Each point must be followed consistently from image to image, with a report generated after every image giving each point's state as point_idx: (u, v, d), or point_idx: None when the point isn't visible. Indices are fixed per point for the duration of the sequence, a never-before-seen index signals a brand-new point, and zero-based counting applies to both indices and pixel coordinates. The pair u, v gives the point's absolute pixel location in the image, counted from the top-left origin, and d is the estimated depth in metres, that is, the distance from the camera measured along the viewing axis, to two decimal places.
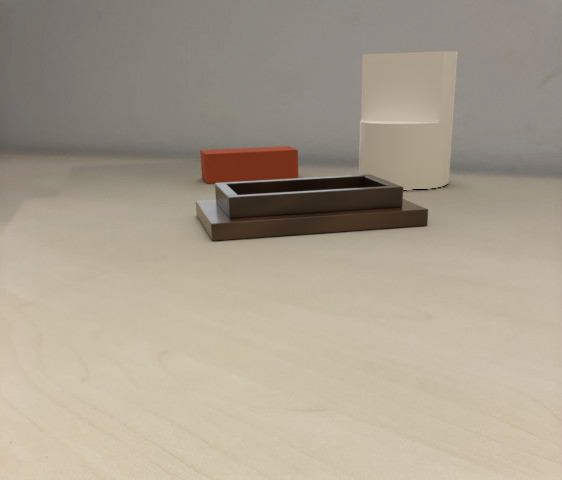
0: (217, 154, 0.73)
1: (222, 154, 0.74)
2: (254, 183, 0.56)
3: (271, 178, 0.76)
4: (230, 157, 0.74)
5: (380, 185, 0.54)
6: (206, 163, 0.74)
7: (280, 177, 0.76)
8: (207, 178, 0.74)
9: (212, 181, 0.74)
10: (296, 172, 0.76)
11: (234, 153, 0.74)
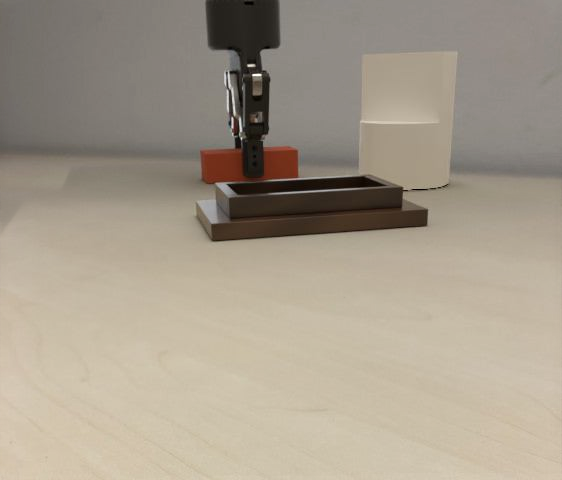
0: (217, 154, 0.73)
1: (222, 154, 0.74)
2: (254, 183, 0.56)
3: (271, 178, 0.76)
4: (230, 157, 0.74)
5: (380, 185, 0.54)
6: (206, 163, 0.74)
7: (280, 177, 0.76)
8: (207, 178, 0.74)
9: (212, 181, 0.74)
10: (296, 172, 0.76)
11: (234, 153, 0.74)
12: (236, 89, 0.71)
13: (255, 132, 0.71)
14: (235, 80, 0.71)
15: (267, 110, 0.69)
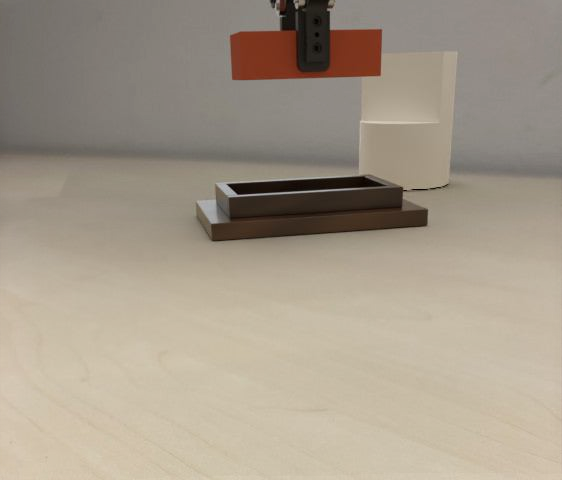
0: (259, 32, 0.47)
1: (267, 33, 0.47)
2: (254, 183, 0.56)
3: (340, 74, 0.49)
4: (279, 38, 0.47)
5: (380, 185, 0.54)
6: (242, 47, 0.47)
7: (354, 73, 0.49)
8: (243, 72, 0.48)
9: (250, 77, 0.48)
10: (378, 66, 0.49)
11: (285, 32, 0.47)
12: None
13: None
14: None
15: None
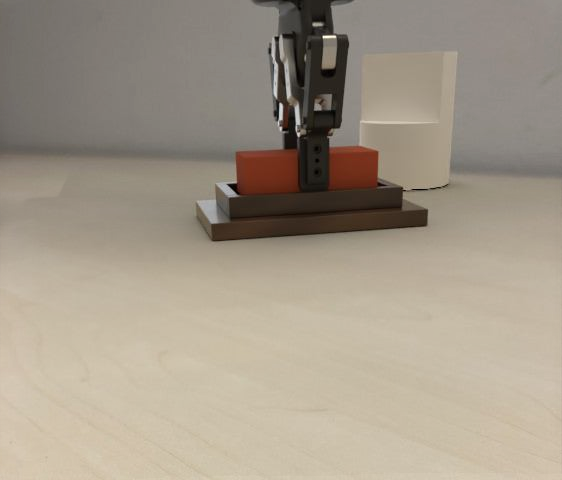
0: (263, 158, 0.50)
1: (270, 158, 0.50)
2: None
3: None
4: (281, 161, 0.51)
5: (380, 185, 0.54)
6: (247, 171, 0.50)
7: None
8: (248, 193, 0.51)
9: None
10: (375, 183, 0.53)
11: (287, 156, 0.51)
12: (292, 61, 0.48)
13: (322, 125, 0.47)
14: (291, 47, 0.48)
15: (342, 91, 0.46)
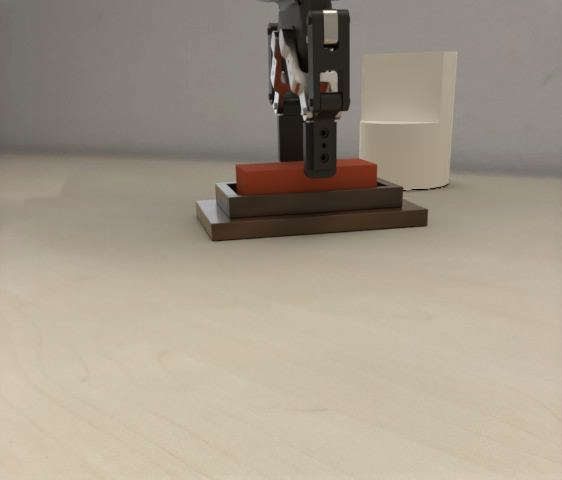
0: (263, 171, 0.51)
1: (270, 171, 0.51)
2: None
3: None
4: (281, 175, 0.51)
5: (380, 185, 0.54)
6: (247, 184, 0.51)
7: None
8: None
9: None
10: None
11: (287, 170, 0.51)
12: None
13: (330, 107, 0.45)
14: (291, 43, 0.48)
15: (347, 66, 0.44)
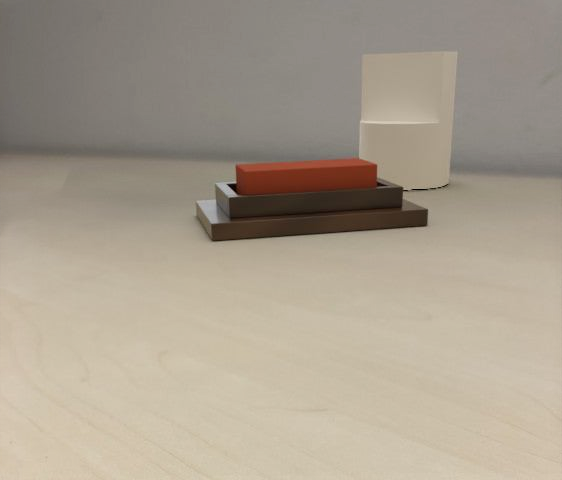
0: (263, 171, 0.51)
1: (270, 171, 0.51)
2: None
3: None
4: (281, 175, 0.51)
5: (380, 185, 0.54)
6: (247, 184, 0.51)
7: None
8: None
9: None
10: None
11: (287, 170, 0.51)
12: None
13: None
14: None
15: None
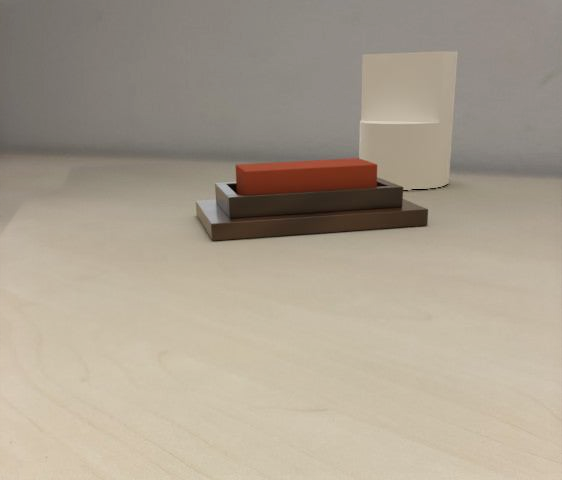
0: (263, 171, 0.51)
1: (270, 171, 0.51)
2: None
3: None
4: (281, 175, 0.51)
5: (380, 185, 0.54)
6: (247, 184, 0.51)
7: None
8: None
9: None
10: None
11: (287, 170, 0.51)
12: None
13: None
14: None
15: None
